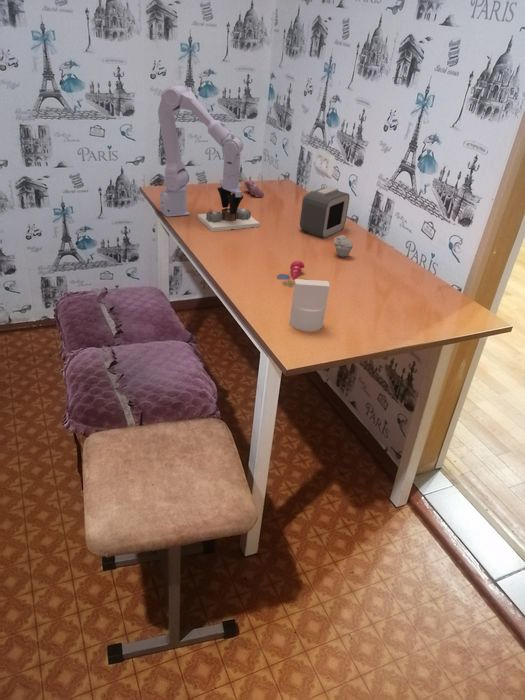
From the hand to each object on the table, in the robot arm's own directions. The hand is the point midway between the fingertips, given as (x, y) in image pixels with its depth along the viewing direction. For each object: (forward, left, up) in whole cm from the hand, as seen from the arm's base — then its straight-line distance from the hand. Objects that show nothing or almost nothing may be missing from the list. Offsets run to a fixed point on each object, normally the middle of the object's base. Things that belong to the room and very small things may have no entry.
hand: (229, 210), depth 209 cm
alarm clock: (+31, -16, -5) cm, 35 cm away
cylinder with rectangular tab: (-11, -75, -5) cm, 75 cm away
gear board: (0, 0, -5) cm, 5 cm away
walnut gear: (0, 0, -3) cm, 3 cm away
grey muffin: (+25, -39, -5) cm, 46 cm away
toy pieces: (0, -50, -5) cm, 50 cm away
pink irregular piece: (+25, +29, -5) cm, 38 cm away
